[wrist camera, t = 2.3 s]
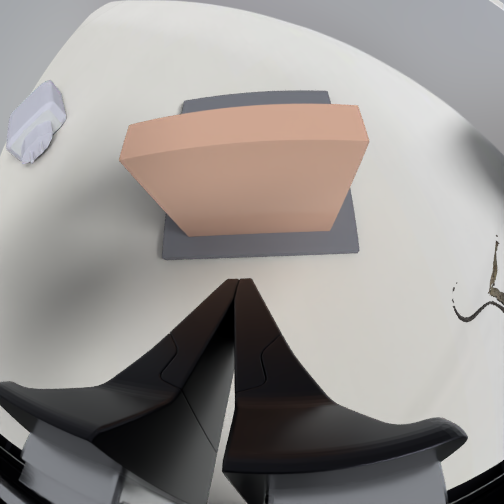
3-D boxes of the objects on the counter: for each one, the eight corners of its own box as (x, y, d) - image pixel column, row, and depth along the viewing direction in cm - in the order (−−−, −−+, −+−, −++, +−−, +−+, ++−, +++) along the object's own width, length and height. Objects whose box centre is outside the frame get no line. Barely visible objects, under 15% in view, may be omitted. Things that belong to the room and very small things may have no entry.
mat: (357, 252, 19) (359, 250, 18) (165, 259, 20) (161, 257, 19) (326, 95, 23) (327, 90, 22) (186, 104, 24) (184, 100, 24)
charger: (25, 191, 25) (22, 133, 29) (75, 142, 25) (63, 95, 30) (1, 175, 20) (6, 118, 24) (54, 119, 21) (48, 77, 25)
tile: (329, 230, 19) (369, 141, 9) (188, 236, 20) (118, 160, 10) (326, 201, 19) (356, 100, 10) (190, 207, 20) (130, 120, 11)
